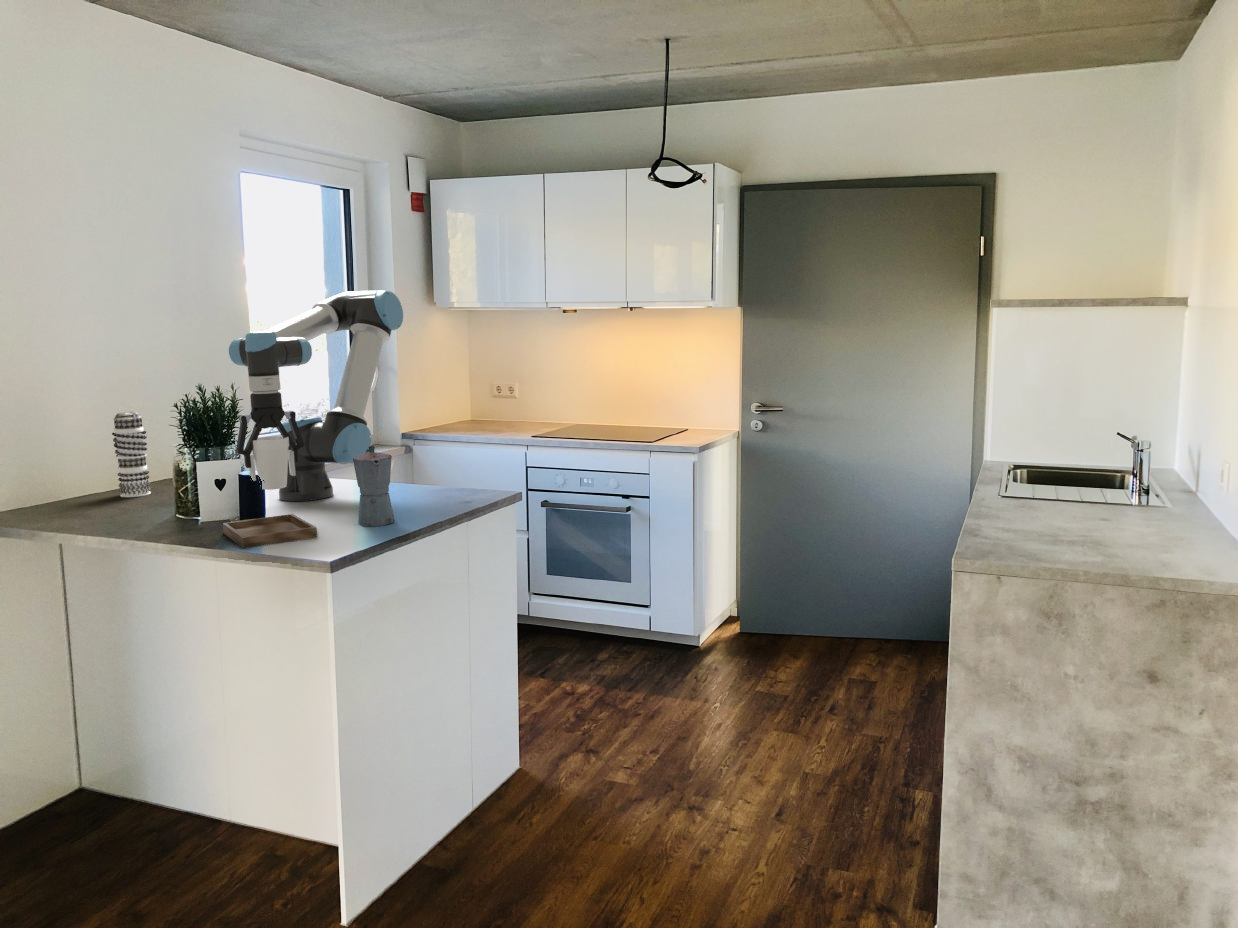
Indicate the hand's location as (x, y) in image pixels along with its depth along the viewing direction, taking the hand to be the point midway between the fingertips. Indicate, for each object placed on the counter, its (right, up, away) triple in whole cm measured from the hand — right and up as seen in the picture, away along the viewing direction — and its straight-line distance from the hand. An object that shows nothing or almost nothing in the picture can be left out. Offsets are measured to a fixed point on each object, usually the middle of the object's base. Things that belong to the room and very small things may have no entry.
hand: (273, 477), depth 250 cm
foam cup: (0, -3, 0) cm, 3 cm away
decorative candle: (-57, -6, +41) cm, 70 cm away
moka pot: (+28, -12, -6) cm, 31 cm away
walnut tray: (+6, -14, -18) cm, 23 cm away
